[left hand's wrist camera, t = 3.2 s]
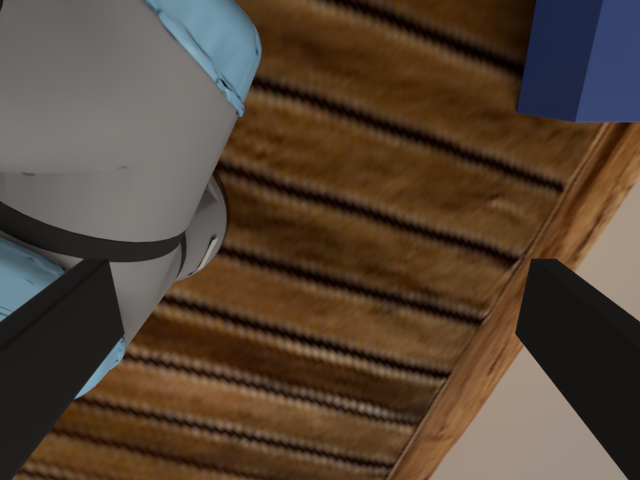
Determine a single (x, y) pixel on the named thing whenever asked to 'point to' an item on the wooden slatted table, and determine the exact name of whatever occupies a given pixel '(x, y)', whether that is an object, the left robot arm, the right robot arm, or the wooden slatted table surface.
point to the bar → (583, 61)
